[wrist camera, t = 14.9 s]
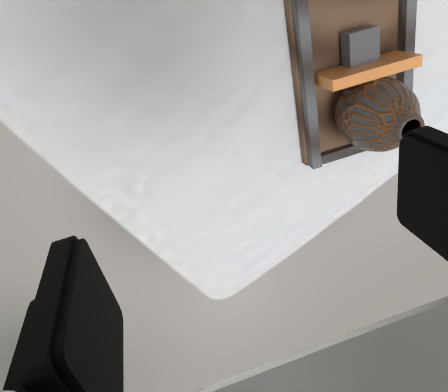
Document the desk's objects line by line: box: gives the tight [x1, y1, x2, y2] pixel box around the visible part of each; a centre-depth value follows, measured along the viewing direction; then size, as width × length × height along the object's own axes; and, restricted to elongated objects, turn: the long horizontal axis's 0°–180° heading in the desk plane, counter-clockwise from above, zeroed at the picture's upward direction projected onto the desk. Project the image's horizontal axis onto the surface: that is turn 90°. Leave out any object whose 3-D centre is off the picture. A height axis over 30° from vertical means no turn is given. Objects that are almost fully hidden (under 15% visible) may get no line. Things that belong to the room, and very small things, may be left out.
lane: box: [284, 0, 417, 169], centre depth 33 cm, size 22×12×6 cm, turn 12°
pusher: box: [314, 25, 422, 92], centre depth 34 cm, size 4×9×4 cm, turn 102°
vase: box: [335, 76, 424, 152], centre depth 34 cm, size 7×7×9 cm
